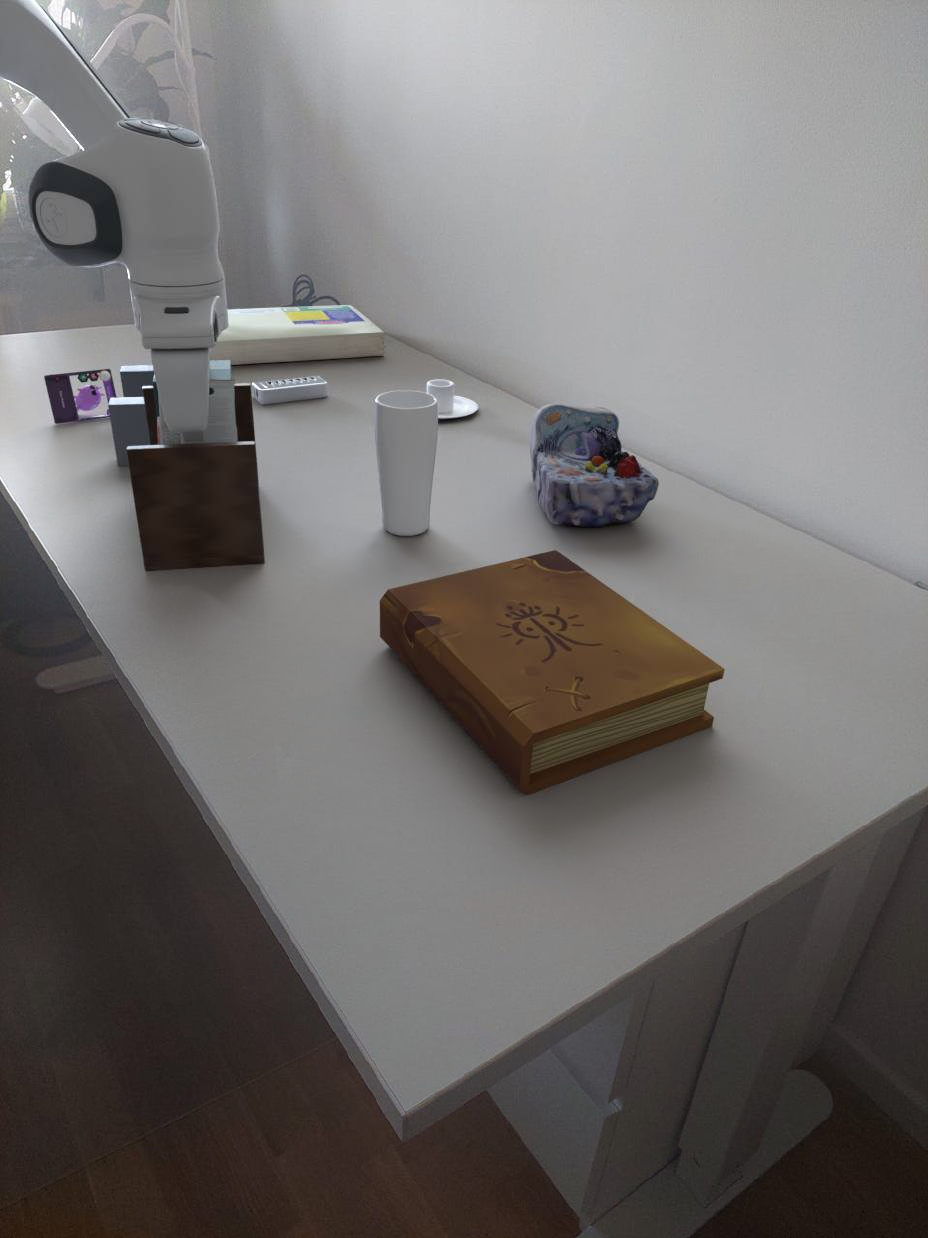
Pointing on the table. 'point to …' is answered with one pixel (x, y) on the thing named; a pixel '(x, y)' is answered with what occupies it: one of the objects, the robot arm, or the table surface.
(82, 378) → the purple monster box
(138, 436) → the grey u-shaped block
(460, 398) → the candle holder
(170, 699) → the table surface
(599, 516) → the cell model
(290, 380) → the multiport hub
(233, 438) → the ink box
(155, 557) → the book rack
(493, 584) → the diary
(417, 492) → the drinking glass
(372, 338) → the puzzle box
